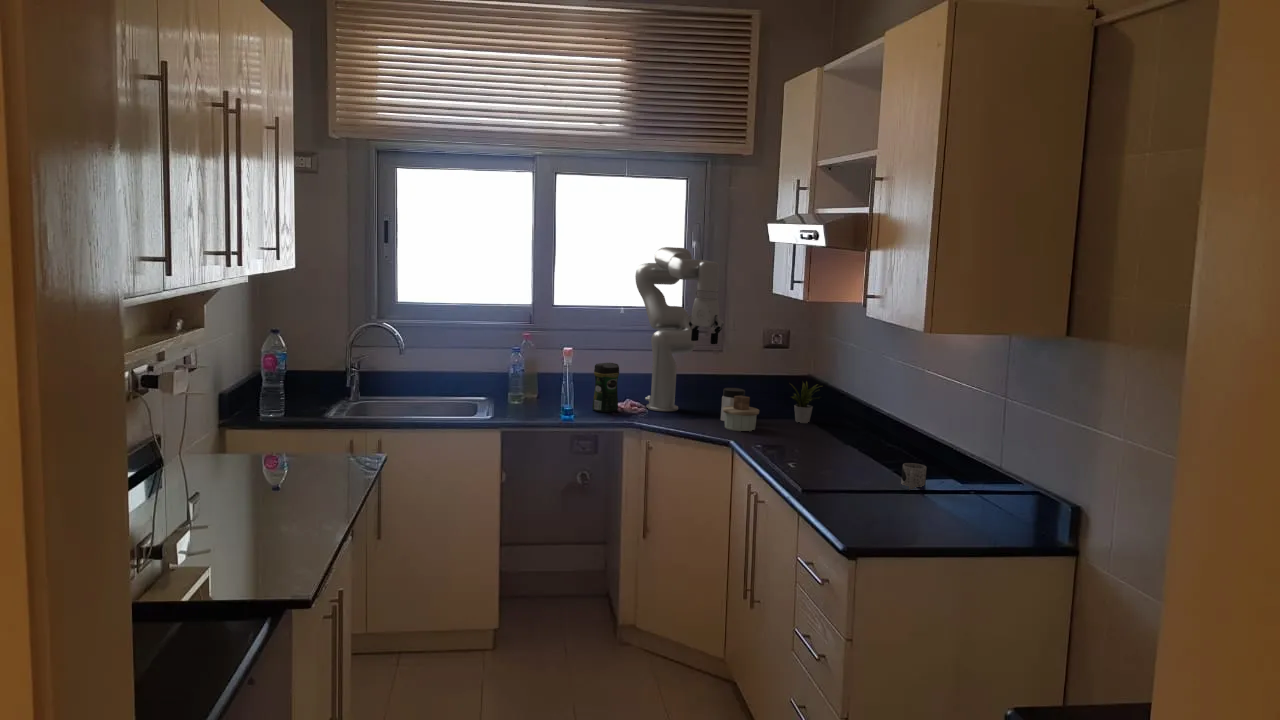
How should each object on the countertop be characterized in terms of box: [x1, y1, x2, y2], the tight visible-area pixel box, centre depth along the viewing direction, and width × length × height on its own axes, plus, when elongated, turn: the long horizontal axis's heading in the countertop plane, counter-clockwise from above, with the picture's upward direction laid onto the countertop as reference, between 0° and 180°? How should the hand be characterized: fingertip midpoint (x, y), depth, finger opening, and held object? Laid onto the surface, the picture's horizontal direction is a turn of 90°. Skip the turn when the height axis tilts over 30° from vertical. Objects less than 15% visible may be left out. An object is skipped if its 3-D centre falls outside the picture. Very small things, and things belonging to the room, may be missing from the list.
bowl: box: [724, 413, 757, 432], centre depth 358 cm, size 11×11×6 cm
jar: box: [720, 387, 746, 422], centre depth 371 cm, size 9×8×12 cm
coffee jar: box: [592, 362, 620, 413], centre depth 377 cm, size 10×8×19 cm
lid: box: [723, 395, 760, 416], centre depth 357 cm, size 13×13×6 cm
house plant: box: [790, 380, 822, 424], centre depth 376 cm, size 14×14×16 cm
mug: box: [900, 462, 928, 489], centre depth 282 cm, size 10×7×7 cm
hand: (704, 342), depth 359 cm, fingers open, 9 cm apart
